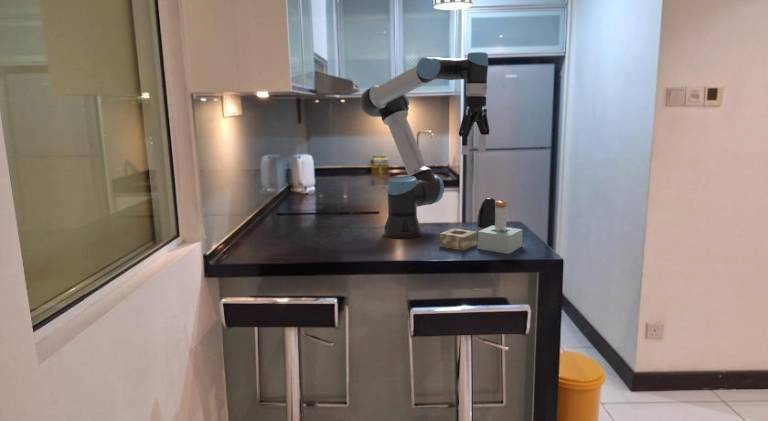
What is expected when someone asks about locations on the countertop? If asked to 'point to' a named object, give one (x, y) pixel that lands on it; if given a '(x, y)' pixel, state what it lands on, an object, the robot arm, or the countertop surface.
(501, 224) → the pin
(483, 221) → the pump dispenser
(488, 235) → the dock
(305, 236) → the countertop surface
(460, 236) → the block
